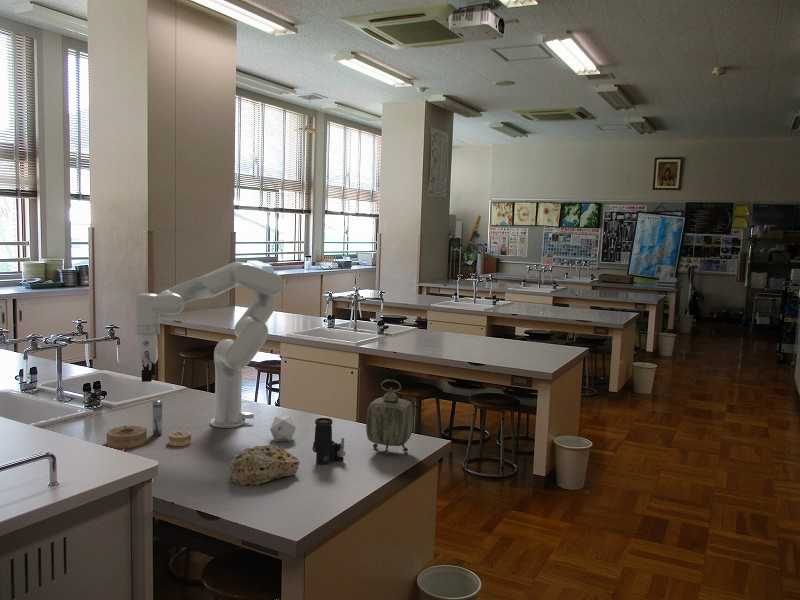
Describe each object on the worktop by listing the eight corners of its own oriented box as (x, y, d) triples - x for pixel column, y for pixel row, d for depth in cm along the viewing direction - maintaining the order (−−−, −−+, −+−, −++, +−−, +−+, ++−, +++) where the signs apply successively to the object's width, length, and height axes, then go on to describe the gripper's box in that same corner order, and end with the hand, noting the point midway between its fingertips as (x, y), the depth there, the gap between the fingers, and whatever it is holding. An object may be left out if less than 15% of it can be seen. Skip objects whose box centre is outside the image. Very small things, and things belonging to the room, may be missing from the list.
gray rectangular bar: (162, 433, 227) (162, 399, 225) (161, 435, 223) (162, 402, 222) (152, 433, 226) (152, 399, 224) (151, 436, 223) (151, 402, 221)
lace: (125, 448, 210) (125, 446, 210) (121, 457, 201) (121, 455, 201) (123, 448, 210) (123, 446, 209) (119, 457, 201) (119, 455, 201)
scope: (347, 419, 205) (323, 425, 197) (345, 461, 206) (322, 469, 199) (329, 413, 210) (306, 419, 202) (328, 455, 211) (304, 462, 204)
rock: (273, 464, 204) (282, 435, 202) (300, 488, 195) (309, 458, 193) (217, 473, 189) (225, 442, 187) (243, 499, 179) (252, 467, 178)
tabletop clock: (412, 451, 218) (415, 379, 216) (405, 460, 210) (408, 384, 207) (371, 446, 222) (374, 374, 220) (363, 454, 214) (365, 380, 211)
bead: (147, 435, 223) (147, 424, 222) (144, 447, 211) (144, 435, 211) (110, 437, 219) (110, 426, 219) (104, 449, 208) (104, 437, 208)
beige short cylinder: (191, 438, 222) (191, 430, 221) (190, 445, 215) (190, 436, 215) (169, 439, 220) (169, 431, 219) (168, 446, 213) (168, 437, 213)
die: (264, 440, 225) (265, 423, 219) (278, 422, 232) (280, 405, 225) (285, 451, 224) (287, 434, 217) (299, 433, 230) (301, 416, 223)
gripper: (156, 333, 214) (157, 383, 216) (162, 325, 231) (162, 372, 232) (132, 333, 212) (133, 384, 214) (139, 325, 229) (140, 373, 231)
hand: (148, 378), depth 223 cm, fingers open, 9 cm apart
